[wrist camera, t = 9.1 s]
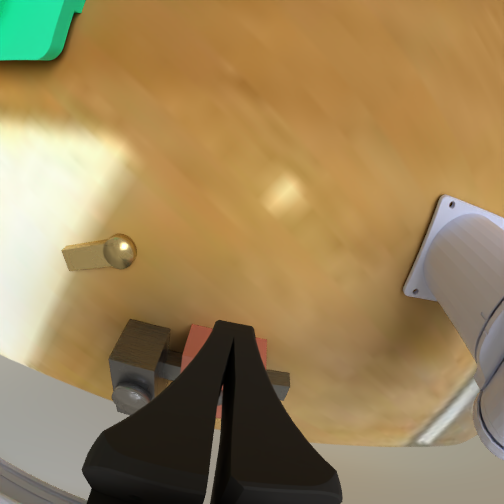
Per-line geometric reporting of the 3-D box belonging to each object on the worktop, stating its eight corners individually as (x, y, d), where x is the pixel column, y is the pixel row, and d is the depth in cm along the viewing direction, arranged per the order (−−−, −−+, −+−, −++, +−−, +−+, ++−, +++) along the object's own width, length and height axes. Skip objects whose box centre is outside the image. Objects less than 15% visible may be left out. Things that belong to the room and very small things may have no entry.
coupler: (297, 353, 26) (301, 409, 20) (276, 402, 29) (276, 453, 24) (129, 319, 25) (103, 368, 20) (132, 373, 28) (113, 419, 23)
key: (131, 231, 22) (127, 236, 21) (140, 262, 23) (136, 267, 22) (65, 242, 22) (60, 246, 22) (75, 269, 23) (70, 274, 23)
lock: (266, 339, 25) (265, 380, 21) (248, 392, 28) (245, 430, 24) (192, 323, 25) (179, 363, 21) (184, 379, 28) (174, 416, 24)
